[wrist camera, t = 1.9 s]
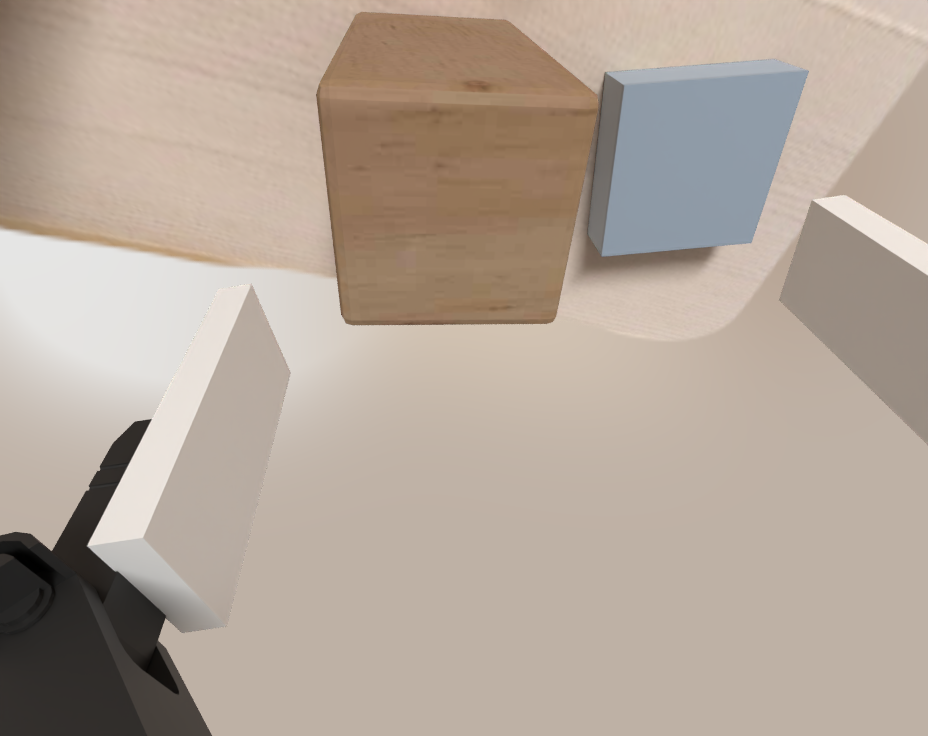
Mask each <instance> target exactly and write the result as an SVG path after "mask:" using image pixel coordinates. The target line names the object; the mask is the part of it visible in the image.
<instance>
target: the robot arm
mask: <svg viewBox="0 0 928 736" xmlns="http://www.w3.org/2000/svg"><path fill="white" fill-rule="evenodd" d="M779 300H780V301H781V302H782V303H783V304H784V305H785V306H786V307H787V308H788V309H789V310H790V311H791V312H792V313H793V314H794V315H795V316H796V317H797V318H798V319H799V320H800V321H801V322H802V323H803V324H804V325H805V326H806V327H807V328H808V329H809V330H810V331H811V332H812V333H814V335H815V336H817V337H818V338H819V339H820V340H821V341H822V342H823V343H824V344H825V345H826V346H827V347H828V348H829V349H830V350H831V351H832V352H833V353H834V354H835V355H836V356H837V357H838V358H839V359H840V360H841V361H842V362H843V363H844V364H845V365H846V366H847V367H848V368H850V370H852V372H853V373H854V374H856V375H857V376H858V377H859V378H860V379H861V380H862V381H863V382H864V383H865V384H866V385H867V386H868V387H869V388H870V389H871V390H872V391H873V392H874V393H875V394H876V395H877V396H878V397H879V398H880V399H881V400H882V401H883V402H884V403H885V404H886V405H887V406H888V407H889V408H890V409H892V411H894V412H895V413H896V414H897V415H898V416H899V417H900V418H901V419H902V420H903V421H904V422H905V423H906V424H907V425H908V426H909V427H910V428H911V429H912V430H913V431H914V432H915V433H916V434H917V435H918V436H919V437H920V438H921V439H922V440H923V441H924V442H925V443H926V444H928V244H926V243H925V242H923V241H921V240H920V239H918V238H917V237H915V236H913V235H911V234H910V233H908V232H906V231H905V230H903V229H901V228H900V227H898V226H896V225H895V224H893V223H891V222H890V221H888V220H886V219H884V218H883V217H881V216H879V215H878V214H876V213H874V212H873V211H871V210H869V209H867V208H866V207H864V206H863V205H861V204H859V203H857V202H855V201H854V200H852V199H851V198H849V197H847V196H846V195H841V196H835V197H828V198H821V199H815V200H812V201H811V204H810V207H809V210H808V213H807V216H806V219H805V222H804V225H803V229H802V232H801V235H800V238H799V241H798V244H797V247H796V250H795V253H794V256H793V259H792V262H791V265H790V268H789V271H788V274H787V277H786V280H785V283H784V286H783V289H782V292H781V296H780V299H779ZM289 377H290V370H289V368H288V366H287V364H286V361H285V359H284V357H283V354H282V352H281V350H280V347H279V345H278V343H277V341H276V338H275V336H274V334H273V332H272V329H271V328H270V325H269V323H268V321H267V318H266V316H265V314H264V311H263V309H262V307H261V304H260V302H259V300H258V298H257V295H256V294H255V291H254V289H253V286H252V284H248V285H242V286H234V287H228V288H221V289H219V290H218V292H217V294H216V296H215V297H214V299H213V301H212V303H211V305H210V307H209V309H208V311H207V313H206V315H205V317H204V319H203V321H202V323H201V325H200V327H199V329H198V331H197V333H196V335H195V336H194V338H193V340H192V343H191V344H190V346H189V348H188V350H187V352H186V354H185V356H184V358H183V360H182V362H181V364H180V366H179V368H178V370H177V372H176V374H175V375H174V377H173V379H172V381H171V384H170V385H169V387H168V389H167V391H166V393H165V395H164V397H163V399H162V401H161V403H160V405H159V407H158V409H157V411H156V413H155V415H154V416H153V419H150V420H143V421H137V422H134V423H133V424H132V425H131V426H130V427H129V428H128V429H127V430H126V431H125V432H124V433H123V434H122V435H121V436H120V437H119V438H118V439H117V440H116V441H115V442H114V443H113V444H112V446H111V448H110V449H109V451H108V453H107V455H106V456H105V458H104V460H103V462H102V464H101V465H100V471H97V473H96V474H95V476H94V478H93V479H92V481H91V483H90V485H89V487H90V489H89V491H86V492H85V494H84V496H83V497H82V499H81V501H80V503H79V504H78V506H77V508H76V510H75V511H74V513H73V515H72V517H71V518H70V520H69V522H68V524H67V526H66V527H65V529H64V531H63V533H62V535H61V536H60V538H59V540H58V541H57V543H56V545H55V547H54V549H53V550H52V551H50V550H49V549H48V548H47V547H46V546H45V545H43V544H42V543H41V542H40V541H39V540H37V539H36V538H35V537H34V536H33V535H31V534H28V533H20V532H13V533H9V534H5V535H1V536H0V736H212V735H211V733H210V731H209V729H208V727H207V725H206V723H205V722H204V720H203V718H202V716H201V714H200V712H199V710H198V708H197V706H196V705H195V703H194V701H193V699H192V697H191V695H190V693H189V691H188V689H187V687H186V686H185V684H184V682H183V680H182V678H181V676H180V674H179V672H178V670H177V668H176V667H175V665H174V663H173V661H172V659H171V657H170V655H169V653H168V652H167V649H166V648H165V647H164V646H163V645H162V644H161V643H160V642H159V641H158V638H159V635H160V632H161V629H162V626H163V623H164V621H165V618H166V619H167V620H168V621H170V622H171V623H172V624H173V625H174V626H175V627H176V628H177V629H178V630H179V631H180V632H182V633H185V632H192V631H199V630H206V629H213V628H219V627H226V626H227V623H228V620H229V616H230V612H231V608H232V603H233V600H234V596H235V592H236V588H237V584H238V580H239V576H240V572H241V568H242V564H243V560H244V556H245V552H246V548H247V544H248V540H249V536H250V532H251V528H252V524H253V520H254V516H255V512H256V508H257V504H258V500H259V496H260V493H261V489H262V485H263V480H264V476H265V473H266V469H267V465H268V461H269V457H270V453H271V448H272V445H273V441H274V437H275V433H276V429H277V425H278V421H279V417H280V413H281V409H282V405H283V401H284V397H285V393H286V389H287V385H288V381H289Z"/></svg>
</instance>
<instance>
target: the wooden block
mask: <svg viewBox="0 0 928 736" xmlns="http://www.w3.org/2000/svg"><path fill="white" fill-rule="evenodd" d="M316 97H317V106H318V114H319V123H320V132H321V141H322V150H323V158H324V167H325V176H326V185H327V194H328V203H329V211H330V220H331V229H332V238H333V247H334V255H335V264H336V273H337V282H338V291H339V299H340V308H341V315H342V317H343V318H344V320H345V322H346V323H347V324H351V325H432V324H433V325H443V324H547V323H551V322H553V321H554V319H555V317H556V314H557V309H558V304H559V300H560V295H561V290H562V285H563V280H564V275H565V270H566V265H567V260H568V255H569V250H570V246H571V241H572V236H573V231H574V226H575V221H576V216H577V211H578V206H579V201H580V196H581V192H582V187H583V182H584V177H585V172H586V167H587V162H588V157H589V152H590V147H591V142H592V138H593V133H594V128H595V123H596V118H597V113H598V108H599V103H598V97H597V94H595V93H594V92H593V91H592V90H591V89H589V88H588V87H587V86H586V85H585V84H583V83H582V82H581V81H580V80H579V79H577V78H576V77H575V76H574V75H573V74H571V73H570V72H569V71H568V70H567V69H565V68H564V67H563V66H562V65H561V64H559V63H558V62H557V61H556V60H555V59H553V58H552V57H551V56H550V55H549V54H547V53H546V52H545V51H544V50H543V49H541V48H540V47H539V46H538V45H537V44H535V43H534V42H533V41H532V40H531V39H529V38H528V37H527V36H526V35H525V34H524V33H522V32H521V31H520V30H519V29H518V28H516V27H515V26H514V25H513V24H512V23H510V22H508V21H507V20H494V19H476V18H458V17H441V16H423V15H405V14H387V13H369V12H361V13H359V14H356V16H355V18H354V20H353V21H352V23H351V25H350V27H349V29H348V31H347V33H346V35H345V36H344V38H343V40H342V42H341V44H340V46H339V48H338V50H337V51H336V53H335V55H334V57H333V59H332V61H331V63H330V65H329V66H328V68H327V70H326V72H325V74H324V76H323V78H322V80H321V81H320V83H319V87H318V90H317V94H316Z"/></svg>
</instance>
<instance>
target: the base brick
mask: <svg viewBox="0 0 928 736" xmlns="http://www.w3.org/2000/svg"><path fill="white" fill-rule="evenodd" d="M808 72H809V71H808V70H805V69H802V68H799V67H796V66H793V65H790V64H787V63H784V62H781V61H779V60H776V59H770V60H757V61H744V62H732V63H719V64H706V65H693V66H680V67H667V68H655V69H642V70H629V71H616V72H605V81H604V90H603V99H602V108H601V117H600V126H599V135H598V144H597V153H596V162H595V171H594V180H593V189H592V198H591V207H590V216H589V225H588V236H589V237H590V239H591V240H592V242H593V244H594V245H595V247H596V249H597V250H598V252H599V253H600V255H601V257H604V256H615V255H626V254H637V253H648V252H659V251H670V250H681V249H691V248H702V247H713V246H724V245H735V244H746V243H752V240H753V237H754V234H755V231H756V228H757V225H758V222H759V219H760V216H761V213H762V210H763V207H764V204H765V201H766V198H767V195H768V192H769V189H770V186H771V183H772V180H773V177H774V174H775V171H776V168H777V165H778V162H779V159H780V156H781V153H782V150H783V147H784V144H785V141H786V138H787V135H788V132H789V129H790V126H791V123H792V120H793V117H794V114H795V111H796V108H797V105H798V102H799V99H800V96H801V93H802V90H803V87H804V84H805V81H806V78H807V75H808Z"/></svg>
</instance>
